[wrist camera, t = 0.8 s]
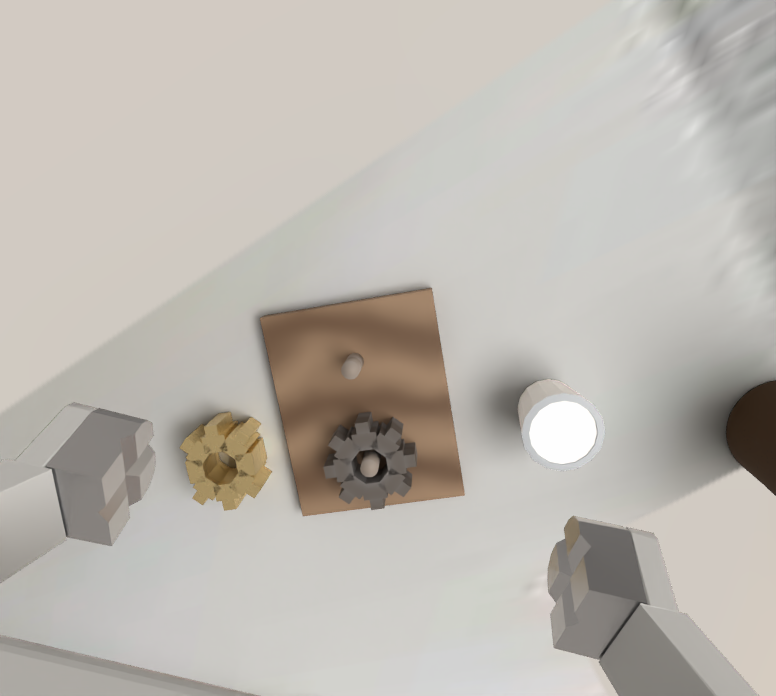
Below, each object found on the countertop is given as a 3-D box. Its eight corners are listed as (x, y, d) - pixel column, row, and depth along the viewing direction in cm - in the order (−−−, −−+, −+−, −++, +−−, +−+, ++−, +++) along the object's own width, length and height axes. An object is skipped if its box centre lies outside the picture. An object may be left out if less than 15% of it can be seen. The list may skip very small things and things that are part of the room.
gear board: (463, 488, 59) (466, 512, 54) (306, 509, 61) (295, 534, 56) (431, 287, 55) (431, 294, 50) (264, 315, 57) (248, 324, 52)
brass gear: (275, 486, 61) (264, 505, 57) (211, 495, 61) (196, 514, 57) (257, 407, 59) (245, 420, 55) (191, 417, 60) (175, 431, 56)
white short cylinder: (499, 427, 58) (508, 454, 51) (528, 361, 56) (541, 381, 49) (566, 452, 58) (584, 483, 51) (597, 388, 56) (619, 411, 49)
